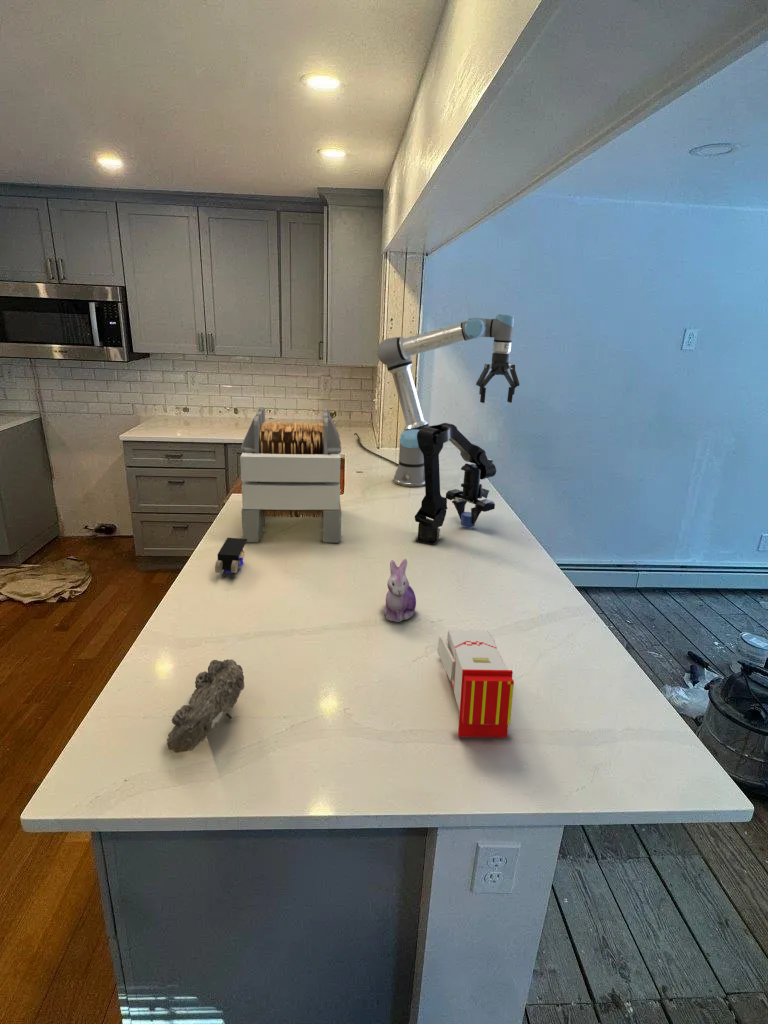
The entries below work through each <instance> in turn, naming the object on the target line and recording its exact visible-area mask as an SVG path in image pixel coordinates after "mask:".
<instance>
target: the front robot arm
mask: <svg viewBox="0 0 768 1024" xmlns="http://www.w3.org/2000/svg"><path fill="white" fill-rule="evenodd" d="M417 441H418V446H419V448H420V450H421V452H422V453H423V456H424V474H425V485H424V491H425V495H424V497H423V498H422V500H421V506H420V508H419V509H418V511H417V512H416V514H415V515H414V520H415V523H418V527H417V538H416V539H415V542H417V543H421V544H425V545H430V546H435V544H436V543H437V542H438V541H439V540H440V532H441V528H440V527H442V526H443V525H444V522H445V518H446V516H447V510H449V509H448V508H449V507H448V500H449V501H451V503H452V504H453V505H454V507H455V510H456V511H457V514H458V517H459V519H460V521H461V513H462V512H466V511H465V509H466V505H467V503H470V504H473V505H474V507H471V508H470V512H471V520H472V524H476V522H477V520H478V518H479V516H480V514H481V513H482V512H484V513H485V512H489V511H492V510H495V508H496V503H495V502H494V501H493V500H491V499H488V497H489V496H488V495H489V493H490V489H486V488H483V484H482V483H481V480H485V479H489V478H493V477H495V475H496V474H497V467H496V464H495V463H494V462H493V461H494V460H493V459H491V458H488V456H487V452H486V450H485V448H482V447H481V446H479V445H476V444H474V443H472V442H471V441H470V440H469V438H468V437H466V435H464V434H463V432H461V431H460V430H459V429H458V427H457V426H456V425H455V424H453V423H449V422H443V423H440V424H433V425H429V426H428V427H426V426H425V427H422V428H421V429H420V430H419V431H418V433H417ZM448 442H450V443H451V444H453V446H454V447H455V448H456V449H457V450H459V453H460V456H461V458H462V460H463V461H464V462H465V464H464V465H463V466H461V468H460V470H461V471H464V474H463V482H462V483H460V487H462V490H460V489H458V488H454V489H449V490H447V491H446V492H445V497H444V496H442V495H441V480H440V479H441V478H440V476H441V475H440V453H441V451H442V450H443V448H444V444H445V443H448ZM466 462H467V463H466ZM470 463H471V464H470ZM482 498H484V499H482ZM480 499H481V500H480Z"/></svg>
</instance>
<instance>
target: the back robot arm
mask: <svg viewBox="0 0 768 1024" xmlns="http://www.w3.org/2000/svg"><path fill="white" fill-rule="evenodd" d="M514 323H515V317H514V315H512V314H497V315H496V316H495V318H480V317H470V318H467V320H465V321H462V322H458V323H453V324H450V325H447V326H443V327H440V328H436V329H433V330H429V331H426V332H423V333H419V334H415V335H411V336H408V337H404V336H398V337H397V336H396V337H395V336H394V337H390V338H385V339H383V340H381V342H379V344H378V346H377V349H376V355H377V359H378V360H379V361H380V363H382V364H383V365H384V366H386V368H387V372H388V373H389V374H391V375H392V379H393V383H394V386H395V388H396V389H395V390H396V393H397V396H398V400H399V401H398V402H399V404H400V407H401V412H402V416H403V418H404V423H405V426H404V428H403V431H402V432H400V436H399V450H398V451H399V454H398V463H397V462H395V461H393V460H391V459H389V458H387V457H384V456H382V455H380V454H378V453H375V452H374V451H371V450H369V449H368V448H366V447H365V446H364V445H363V444H361V443H362V442H361V441H360V435H359V434H358V433H357V432H355V433H354V434H353V435H354V436H356V437H357V441H358V444H359V446H360V447H361V448H363V449H364V450H365V451H367V452H369V453H370V454H373V455H375V456H377V457H379V458H381V459H383V460H386V461H388V462H390V463H392V464H394V465H396V466H397V469H396V470H395V474H394V477H393V483H394V484H396V485H398V486H401V487H408V488H420V487H425V474H424V456H423V453H422V452H421V450H420V448H419V446H418V441H417V433H418V431H419V430H420V429H421V428H422V427H425V426H426V427H428V426H430V425H429V422H428V421H427V420H425V419H424V414H423V411H422V408H421V404H420V400H419V397H418V392H417V388H416V385H415V382H414V381H415V380H414V378H413V377H414V376H413V374H412V370H411V368H412V366H413V360H412V356H415V355H418V354H422V353H426V352H430V351H434V350H436V349H440V348H444V347H447V346H451V345H454V344H455V345H456V344H458V343H462V342H463V343H464V342H465V341H466V342H467V341H470V340H474V339H478V338H493V344H492V355H491V364H490V363H485V364H484V366H483V370H482V372H481V373H480V376H479V377H478V379H477V381H476V383H475V385H476V386H478V387H479V391H478V392H479V393H478V394H479V395H480V399H479V403H482V404H485V402H486V401H485V400H486V394H487V393H486V392H487V387H486V386H487V385H488V383H489V382H490V381H491V380H492V378H494V377H495V376H504V378H505V379H506V381H507V383H508V384H509V387H508V389H507V390H508V391H507V399H506V400H507V403H510V404H512V403H513V398H514V397H513V396H514V395H515V391H516V388H517V387H520V381H519V378H518V375H517V371H516V364H514V363H510V360H511V354H510V353H511V351H512V350H511V349H512V340H513V333H514V326H515V325H514ZM508 370H509V371H508ZM509 372H510V373H509ZM510 374H511V375H510Z"/></svg>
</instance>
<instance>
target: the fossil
mask: <svg viewBox="0 0 768 1024" xmlns="http://www.w3.org/2000/svg"><path fill="white" fill-rule="evenodd" d="M243 670H244V669H243V667H242V665H240V664H237V662H236V661H235V660H234V659H232V658H231V659H227V658H226V659H224V660H223V661H222V660H217V659H212V660H211V661H210V663H209V665H208V666H207V671H201V672H199V673H198V674H197V675H196V676H195V680H194V684H195V685H194V687H195V689H194V690H193V693H192V694H191V697H190V698H189V700H188V704H184V705H182V706H181V707H180V709H177V710H176V711H175V713H174V715H173V716H172V718H171V723H172V724H173V727H172V730H171V731H170V732H168V734H167V738H166V741H167V742H166V745H167V749H168V750H169V751H173V752H174V753H176V754H178V753H182V752H188V751H189V752H192V751H193V750H195V748H196V747H197V746H199V744H200V743H201V742H203V741H204V740H205V739H206V738H207V737H208V736H209V735H210V734H211V733H212V732H214V730H215V729H217V727H218V726H219V724H220V722H221V721H222V720H223V719H224V718H225V716H226V717H227V719H229V720H233V717H232V715H230V714H229V710H230V709H231V708H234V706H235V704H236V703H237V702H238V699H239V697H240V695H241V693H242V691H243V690H245V689H244V688H245V675H244V671H243Z"/></svg>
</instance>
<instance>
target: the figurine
mask: <svg viewBox="0 0 768 1024" xmlns="http://www.w3.org/2000/svg"><path fill="white" fill-rule="evenodd" d="M407 567H408V559H406V558H404V559H403V560H402V561H401V563H400V565H399V566H398V565H397V563H396V562H395V561H394V560H393V559H391V560H390V561H389V570H390V576H389V578H388V579H387V589H388V591H387V592H386V594H385V595H386V596H385V607H384V615H385V616H386V620H387V621H391V622H395V623H400V622H402V621H406V620H409V619H410V618H411V617H413V616H414V615H415V610H416V606H417V597H416V593H415V591H414V590H413V587H411V586H410V582H409V579H408V577H407V574H406V571H407Z"/></svg>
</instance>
